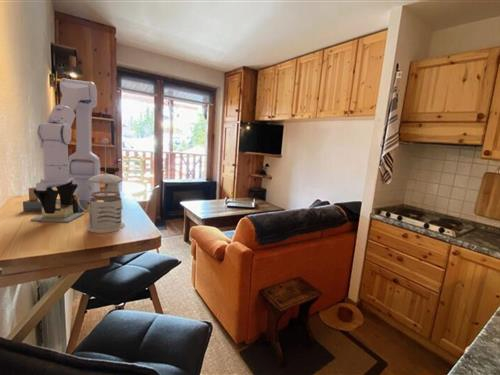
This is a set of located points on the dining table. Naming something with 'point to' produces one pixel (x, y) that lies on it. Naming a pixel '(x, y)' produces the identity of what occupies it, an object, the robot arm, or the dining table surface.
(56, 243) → the dining table surface
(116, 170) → the bolt
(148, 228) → the dining table surface
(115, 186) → the salt shaker
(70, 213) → the beige block
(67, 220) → the mat
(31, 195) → the plane body
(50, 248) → the dining table surface
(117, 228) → the french press
